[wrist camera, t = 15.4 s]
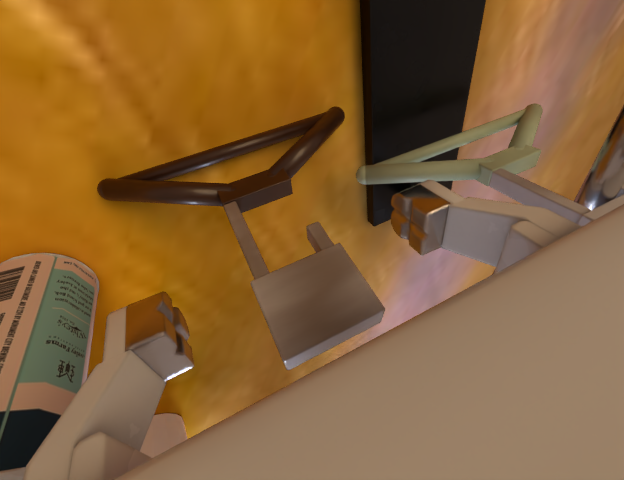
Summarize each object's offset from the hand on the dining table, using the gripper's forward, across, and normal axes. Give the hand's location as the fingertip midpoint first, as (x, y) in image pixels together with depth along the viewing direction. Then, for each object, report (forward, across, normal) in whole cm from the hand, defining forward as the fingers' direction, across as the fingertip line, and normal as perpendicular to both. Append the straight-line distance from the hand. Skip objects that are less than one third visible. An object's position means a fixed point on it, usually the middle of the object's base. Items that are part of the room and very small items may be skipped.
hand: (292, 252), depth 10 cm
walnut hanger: (+10, 0, 0) cm, 10 cm away
